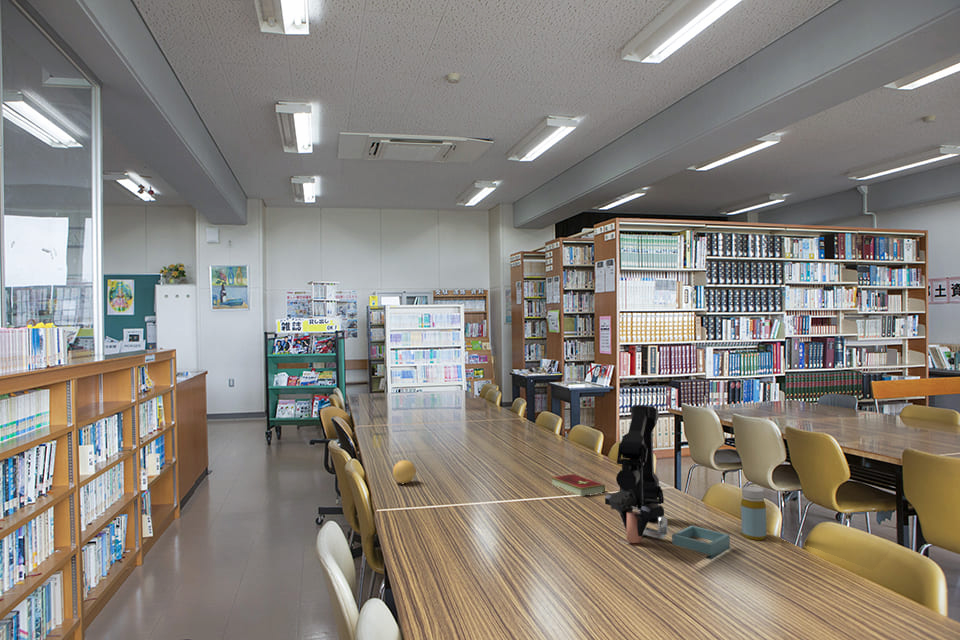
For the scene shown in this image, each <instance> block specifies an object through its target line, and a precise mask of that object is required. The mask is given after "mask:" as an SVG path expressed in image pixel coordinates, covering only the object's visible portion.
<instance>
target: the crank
mask: <svg viewBox="0 0 960 640" xmlns="http://www.w3.org/2000/svg"><path fill="white" fill-rule="evenodd" d="M657 523H658V525H657V526H658V529H655V528H651V527H647V526H646V528H645V530H644V532H643V534H642V537H645V536H648V537H652V538H657V539H660V540H662V539H664V538H666V535H668V517H667V516H666V515H664V516H661V517H658V521H657Z"/></svg>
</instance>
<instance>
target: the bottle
mask: <svg viewBox="0 0 960 640" xmlns="http://www.w3.org/2000/svg"><path fill="white" fill-rule="evenodd" d="M741 491H742V493H741V494H742V496H741V497H742V499H741V501H740V513H741V521H740V522H741V534H742V535H741V536H742V537H744V538H746V539H748V540H752V541H763V540H765V538H767V510H766V509H767V507H766V502H765V491H764V488H762V487H757V486H747V485H746V486H743V487H741Z"/></svg>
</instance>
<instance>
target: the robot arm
mask: <svg viewBox="0 0 960 640" xmlns="http://www.w3.org/2000/svg"><path fill="white" fill-rule="evenodd" d="M659 415H660V414H659V410H658V408H657V407H656V406H651V405H650V406H649V405H643V404H642V405H640V404H639V405H638V404H635V405H632V406H631V408H630V419H631V421H630V424H629V428H628V432H627V433H626V434H624V435H623V436H622V438H621V441H620V442H619V444H618V450H617V458H616V465H621V470H620V471H619V472H617V474H616V476H615V481H616V484H617V485H618V487H619V491H617V492H613V493H609V494H608V493H607V494H606V495H605V497H604V505H607V506H610V508H611V510H615V511H616V512H617V513H619V515H620V518H621V519H622V523H623V525H624V528H625V532H627V512H629V511H633V510H634V509H635V510H638V512H639V514H635V515H634V516H635V517H636V518H637V526H638V536H642V534H643V532H644V530H645V528H646V527H647V525H648V523H651V524H654V523H658V517H661V516H665V508H664V507H663V506H662V504H665V496H664V491H663V490H662V486H661V485H660V479H659V478H658V476H657V474H656V473H655V468H654V467H655V464H654V460H655V459H654V440H653V438H654V437H653V436H654V435H653V430H654V428H656V426H657V424H658V421H659ZM642 537H643V536H642Z"/></svg>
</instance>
